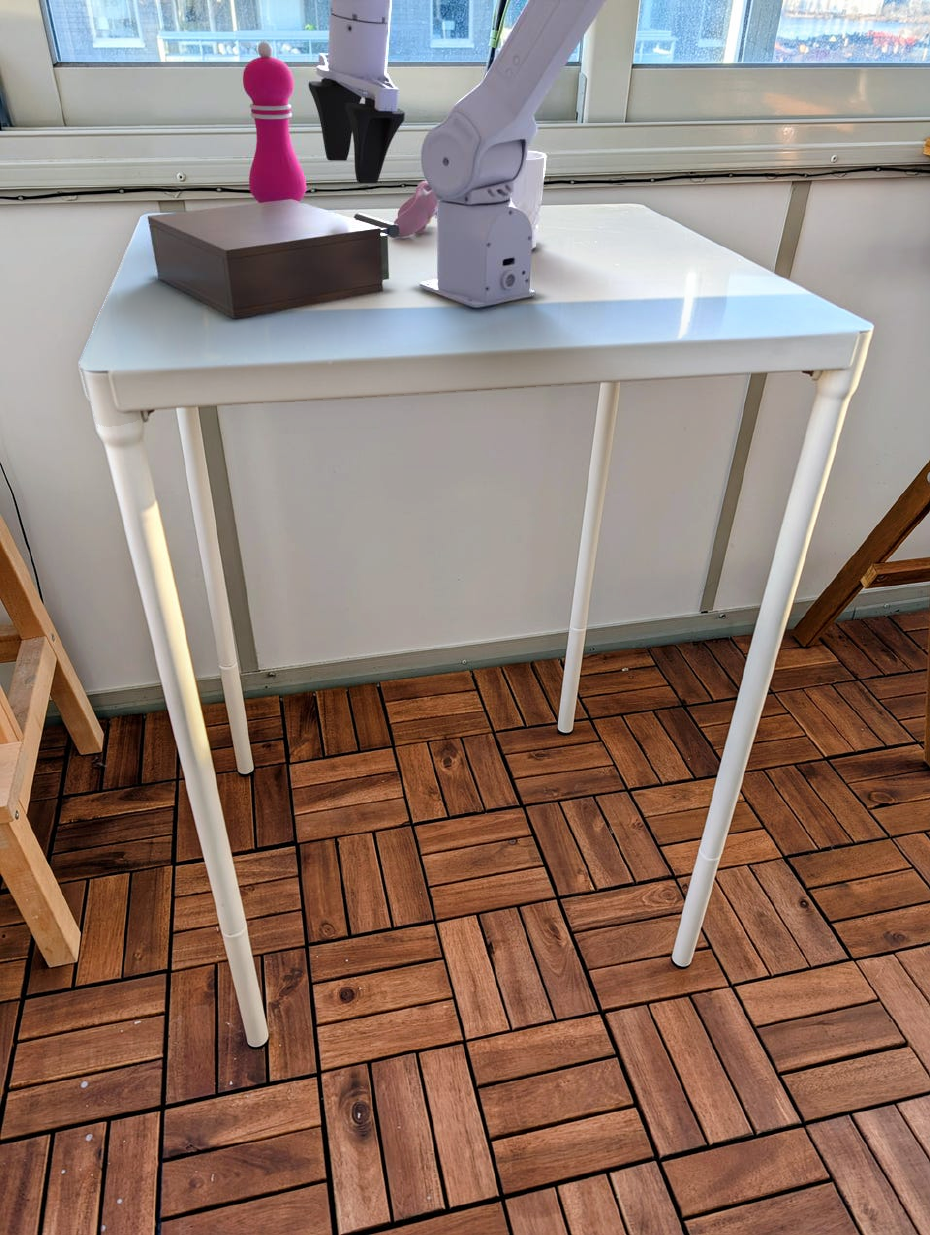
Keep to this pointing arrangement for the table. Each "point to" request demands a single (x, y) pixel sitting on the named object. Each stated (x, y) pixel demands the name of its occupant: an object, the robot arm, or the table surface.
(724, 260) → the table surface
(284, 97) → the pepper mill
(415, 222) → the video game controller
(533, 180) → the white cup
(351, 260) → the cabinet
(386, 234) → the drawer
